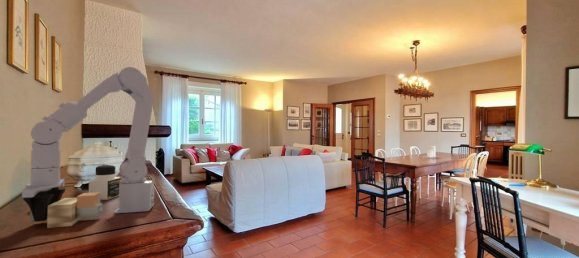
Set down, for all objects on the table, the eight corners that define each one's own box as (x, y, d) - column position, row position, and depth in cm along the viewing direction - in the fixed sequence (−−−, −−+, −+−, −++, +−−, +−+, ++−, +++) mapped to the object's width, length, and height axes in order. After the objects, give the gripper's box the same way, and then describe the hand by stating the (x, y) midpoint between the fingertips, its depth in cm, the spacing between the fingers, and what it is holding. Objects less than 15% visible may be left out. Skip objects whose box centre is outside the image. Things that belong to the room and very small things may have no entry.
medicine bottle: (107, 200, 93) (108, 166, 93) (88, 199, 93) (88, 166, 93) (120, 195, 100) (121, 164, 100) (102, 195, 100) (103, 164, 100)
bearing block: (85, 216, 74) (85, 196, 74) (71, 225, 67) (71, 204, 67) (64, 218, 73) (64, 198, 73) (47, 227, 65) (47, 205, 65)
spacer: (100, 202, 74) (100, 192, 74) (94, 206, 70) (94, 195, 70) (83, 203, 73) (83, 193, 73) (76, 207, 69) (76, 196, 69)
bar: (102, 213, 74) (102, 202, 74) (97, 217, 70) (97, 205, 71) (37, 218, 69) (38, 206, 69) (29, 222, 66) (30, 209, 66)
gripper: (44, 164, 74) (42, 211, 74) (6, 171, 60) (4, 230, 60) (73, 163, 76) (72, 209, 76) (43, 170, 63) (42, 226, 62)
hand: (44, 218), depth 68 cm, fingers closed on bar, 3 cm apart
